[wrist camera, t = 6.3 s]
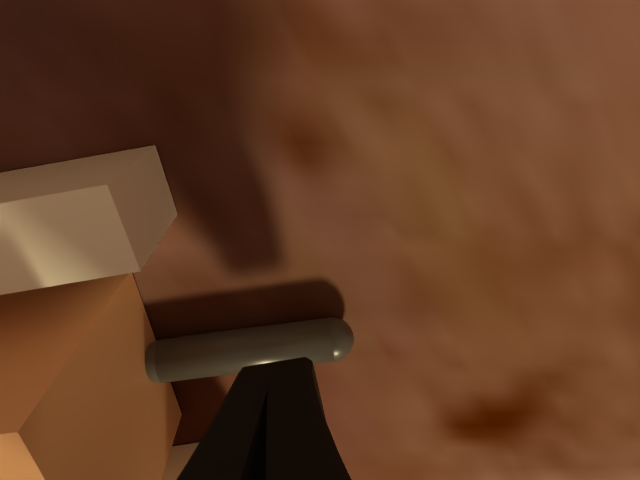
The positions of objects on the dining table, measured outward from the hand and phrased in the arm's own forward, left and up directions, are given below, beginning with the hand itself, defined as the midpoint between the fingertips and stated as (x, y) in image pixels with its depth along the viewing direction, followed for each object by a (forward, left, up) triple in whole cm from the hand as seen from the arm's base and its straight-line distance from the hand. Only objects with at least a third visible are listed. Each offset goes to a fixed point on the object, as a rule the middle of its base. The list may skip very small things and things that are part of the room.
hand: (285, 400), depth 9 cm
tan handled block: (0, +3, -2) cm, 4 cm away
